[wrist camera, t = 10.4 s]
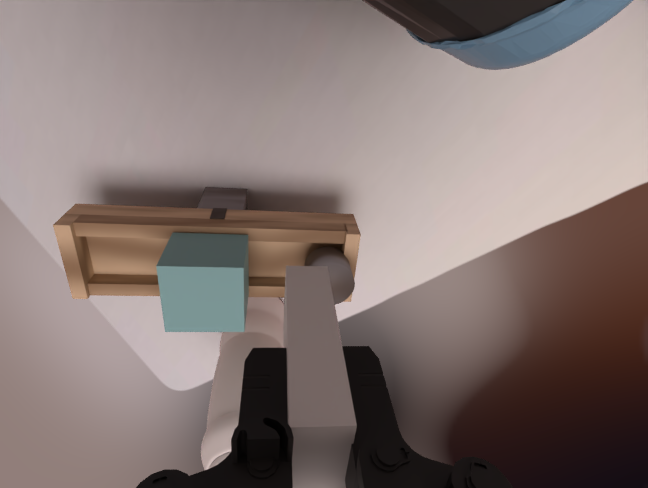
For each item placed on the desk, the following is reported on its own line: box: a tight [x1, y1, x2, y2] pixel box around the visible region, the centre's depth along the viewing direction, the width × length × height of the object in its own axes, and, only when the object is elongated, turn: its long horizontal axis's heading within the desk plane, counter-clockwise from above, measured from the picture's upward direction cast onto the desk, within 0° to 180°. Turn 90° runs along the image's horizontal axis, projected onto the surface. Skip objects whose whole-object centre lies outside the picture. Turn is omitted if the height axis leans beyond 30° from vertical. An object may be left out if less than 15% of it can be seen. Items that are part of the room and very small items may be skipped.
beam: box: [53, 187, 361, 305], centre depth 37 cm, size 7×24×12 cm, turn 85°
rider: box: [156, 233, 249, 332], centre depth 33 cm, size 6×6×6 cm
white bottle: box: [201, 297, 284, 470], centre depth 38 cm, size 7×7×25 cm
